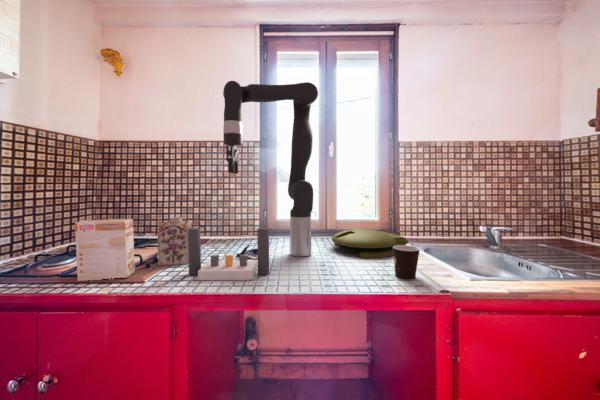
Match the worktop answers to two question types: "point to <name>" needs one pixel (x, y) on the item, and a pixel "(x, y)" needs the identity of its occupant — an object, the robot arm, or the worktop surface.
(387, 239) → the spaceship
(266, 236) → the post
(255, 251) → the sunglasses
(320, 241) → the worktop surface
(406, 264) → the coffee mug
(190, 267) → the post
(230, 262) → the middle paddle
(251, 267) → the switch panel
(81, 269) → the coffeecake box
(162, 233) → the decorative jar
